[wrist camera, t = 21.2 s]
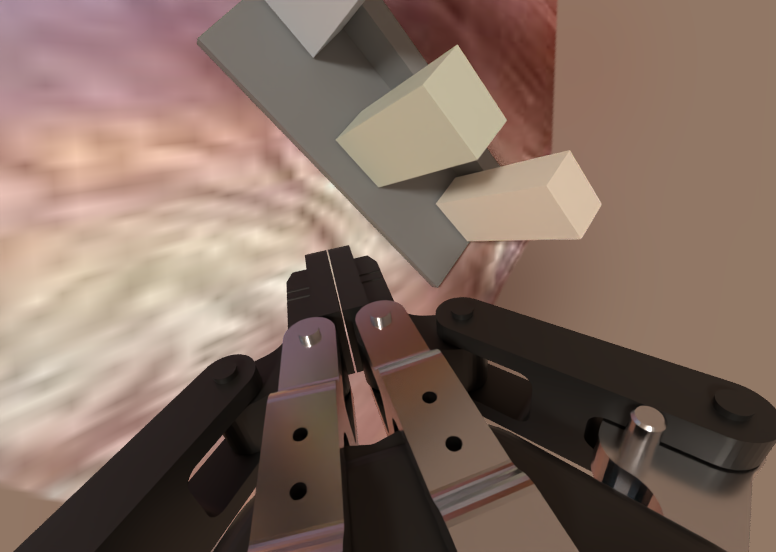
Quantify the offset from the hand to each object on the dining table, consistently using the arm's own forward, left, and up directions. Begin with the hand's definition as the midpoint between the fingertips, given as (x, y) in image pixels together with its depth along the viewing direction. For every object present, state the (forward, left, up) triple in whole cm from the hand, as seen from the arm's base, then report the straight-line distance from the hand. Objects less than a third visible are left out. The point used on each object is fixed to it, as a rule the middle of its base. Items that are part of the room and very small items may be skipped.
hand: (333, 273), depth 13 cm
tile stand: (-11, +14, -23) cm, 29 cm away
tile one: (-4, +24, -22) cm, 33 cm away
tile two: (-10, +13, -22) cm, 27 cm away
